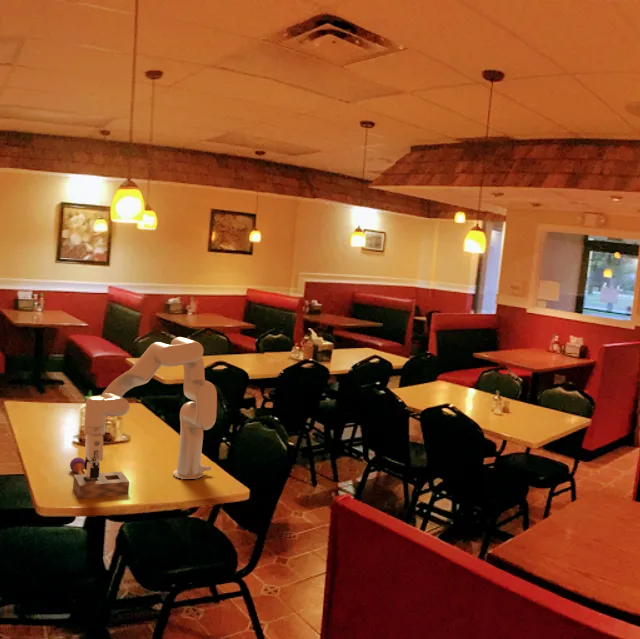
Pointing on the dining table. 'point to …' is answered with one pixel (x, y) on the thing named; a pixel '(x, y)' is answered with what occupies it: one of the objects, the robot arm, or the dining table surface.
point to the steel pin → (89, 472)
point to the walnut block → (101, 485)
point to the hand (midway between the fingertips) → (91, 473)
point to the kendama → (77, 465)
